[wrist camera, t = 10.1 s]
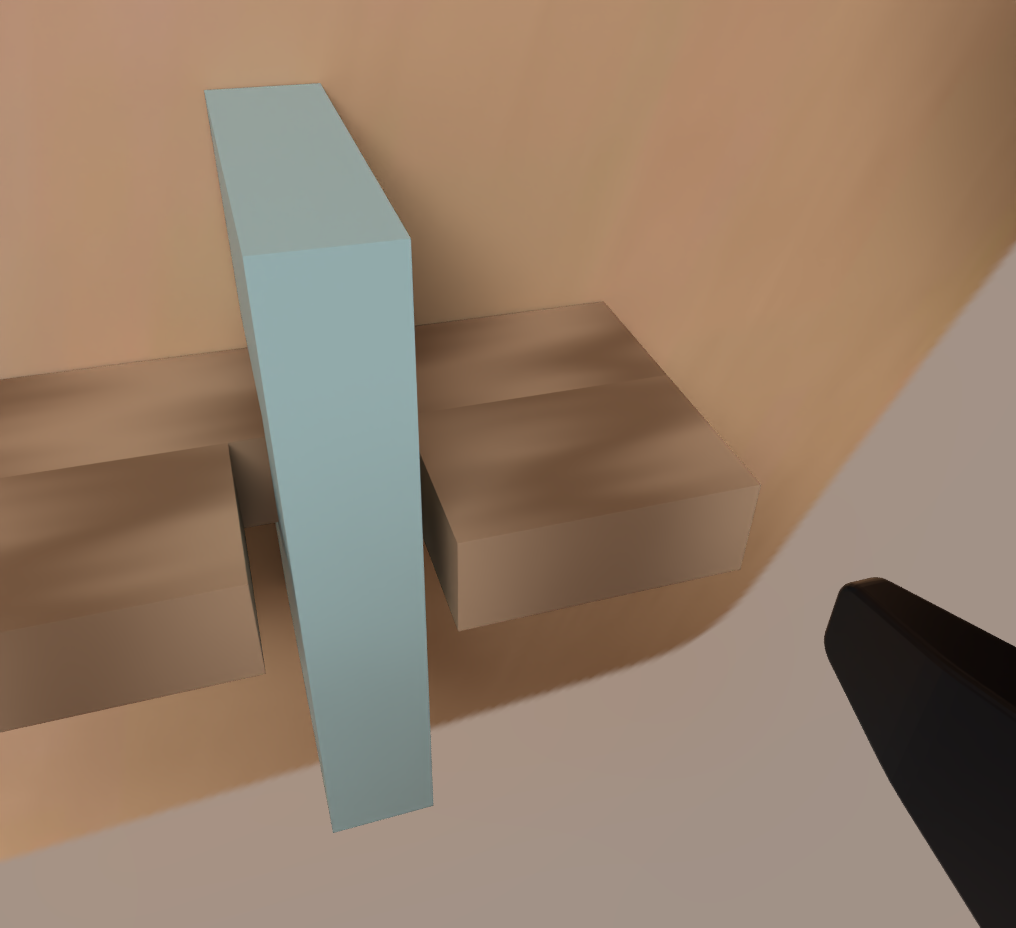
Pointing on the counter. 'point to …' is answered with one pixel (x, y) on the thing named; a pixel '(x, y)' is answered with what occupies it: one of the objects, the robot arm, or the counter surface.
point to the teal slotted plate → (335, 431)
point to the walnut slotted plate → (251, 502)
